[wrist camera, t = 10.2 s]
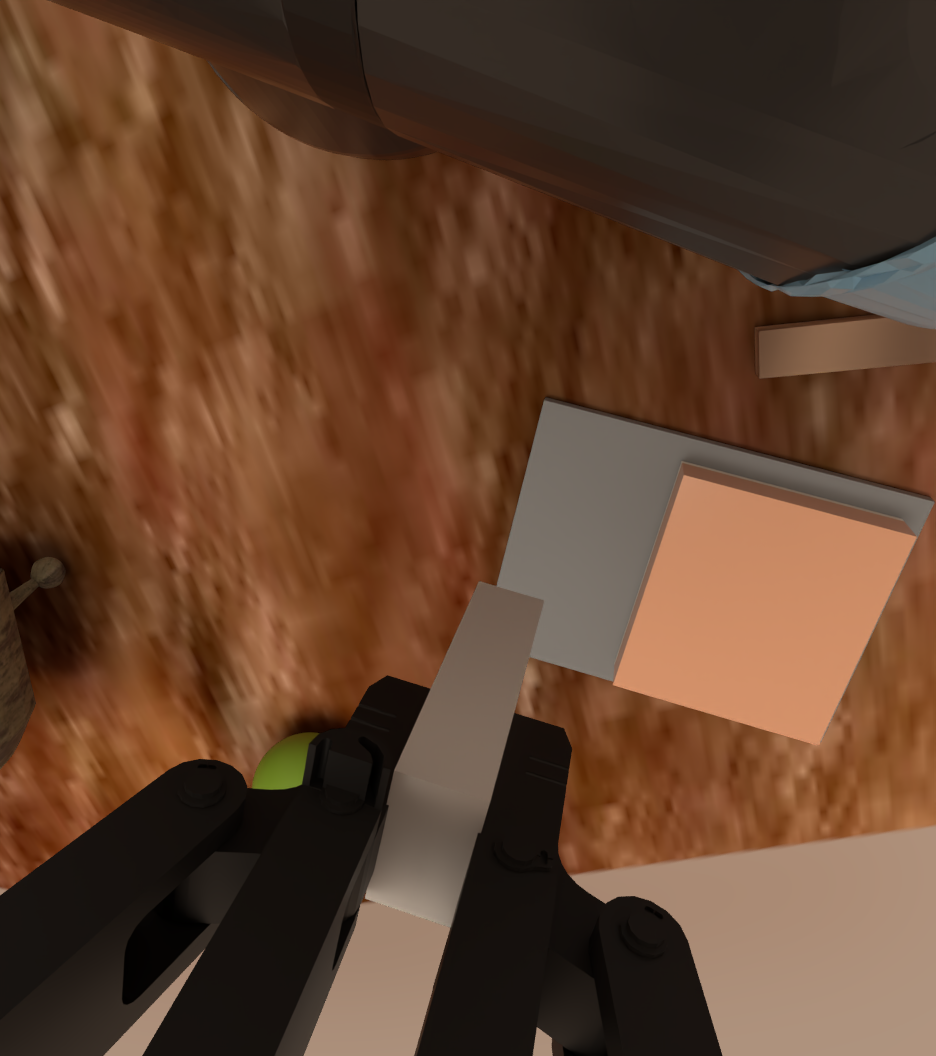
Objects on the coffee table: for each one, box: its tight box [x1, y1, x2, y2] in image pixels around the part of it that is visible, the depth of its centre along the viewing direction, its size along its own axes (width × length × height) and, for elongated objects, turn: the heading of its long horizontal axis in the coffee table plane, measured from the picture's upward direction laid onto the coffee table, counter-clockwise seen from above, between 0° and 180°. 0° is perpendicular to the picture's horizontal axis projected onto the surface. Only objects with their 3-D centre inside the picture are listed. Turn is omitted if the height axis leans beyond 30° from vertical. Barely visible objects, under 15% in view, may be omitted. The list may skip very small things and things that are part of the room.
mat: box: [497, 397, 934, 743], centre depth 36 cm, size 16×12×1 cm
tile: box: [613, 461, 917, 746], centre depth 35 cm, size 2×10×9 cm
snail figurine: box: [252, 732, 321, 790], centre depth 39 cm, size 5×6×12 cm
